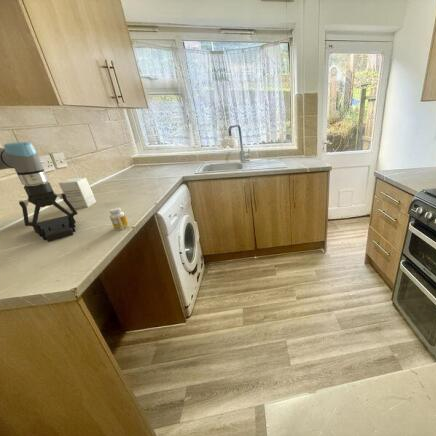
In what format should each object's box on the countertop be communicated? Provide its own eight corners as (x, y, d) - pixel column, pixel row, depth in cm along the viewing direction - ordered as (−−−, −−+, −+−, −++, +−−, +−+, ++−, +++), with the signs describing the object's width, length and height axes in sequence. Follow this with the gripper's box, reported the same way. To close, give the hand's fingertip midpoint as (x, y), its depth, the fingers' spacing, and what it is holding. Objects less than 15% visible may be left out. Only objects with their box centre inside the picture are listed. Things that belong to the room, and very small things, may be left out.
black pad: (46, 235, 105) (43, 228, 104) (70, 228, 110) (67, 222, 109) (48, 242, 99) (45, 236, 97) (73, 235, 104) (71, 229, 103)
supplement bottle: (127, 225, 112) (120, 205, 108) (130, 228, 108) (123, 208, 104) (114, 229, 109) (106, 209, 105) (116, 233, 105) (108, 212, 101)
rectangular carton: (80, 203, 142) (68, 178, 135) (96, 201, 143) (86, 177, 137) (70, 209, 134) (57, 183, 127) (88, 207, 135) (76, 181, 129)
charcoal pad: (38, 228, 111) (35, 222, 110) (71, 220, 119) (69, 214, 118) (40, 239, 101) (37, 233, 100) (77, 230, 109) (74, 224, 108)
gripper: (-6, 192, 86) (24, 247, 95) (73, 179, 100) (92, 228, 109) (-5, 188, 90) (24, 241, 99) (70, 176, 105) (89, 224, 114)
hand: (60, 234), depth 104 cm, fingers open, 9 cm apart
